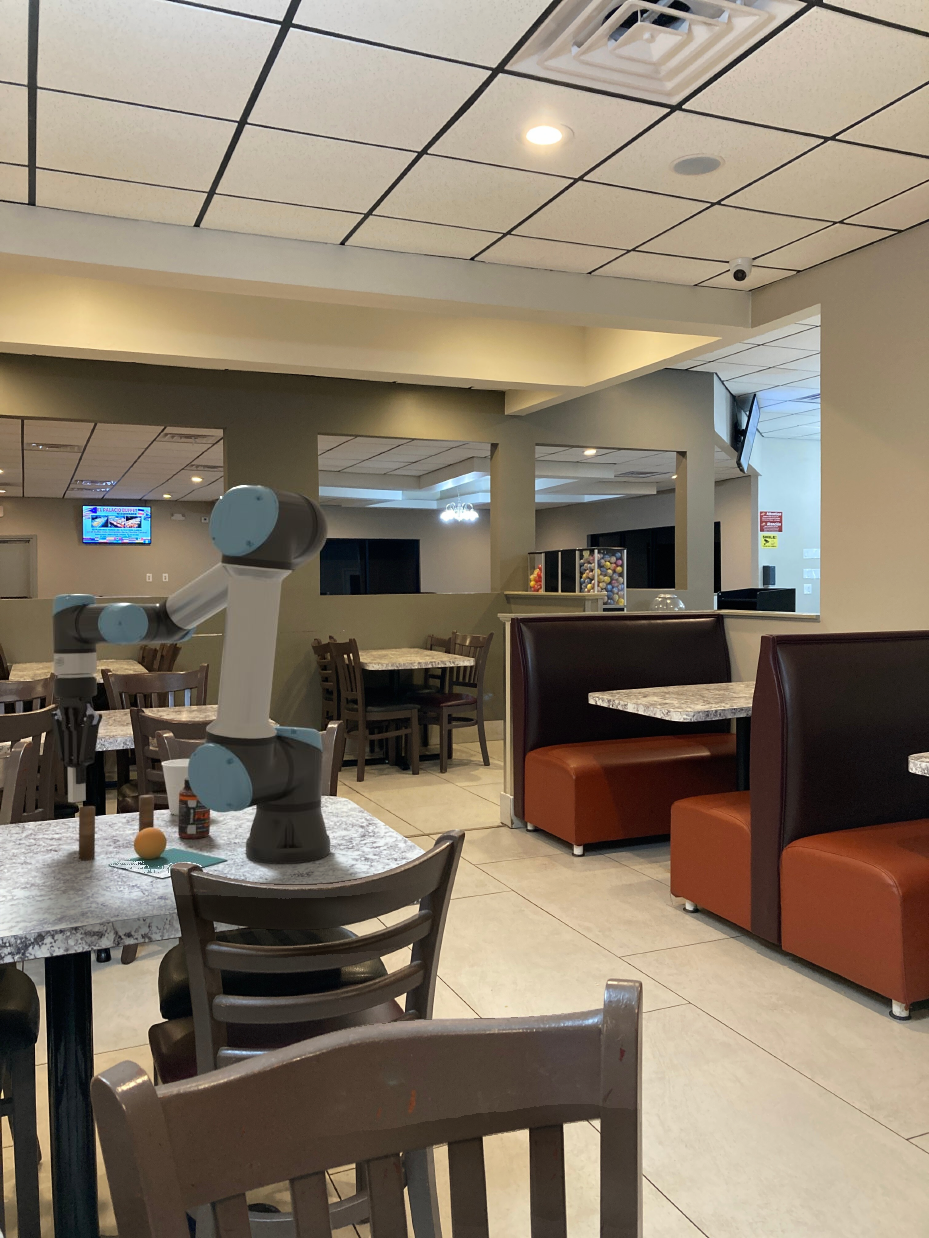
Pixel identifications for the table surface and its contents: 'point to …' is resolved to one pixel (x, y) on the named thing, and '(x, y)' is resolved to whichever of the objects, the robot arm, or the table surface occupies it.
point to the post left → (86, 832)
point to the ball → (150, 843)
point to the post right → (146, 812)
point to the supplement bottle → (192, 815)
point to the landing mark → (175, 859)
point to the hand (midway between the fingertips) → (76, 800)
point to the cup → (175, 781)
